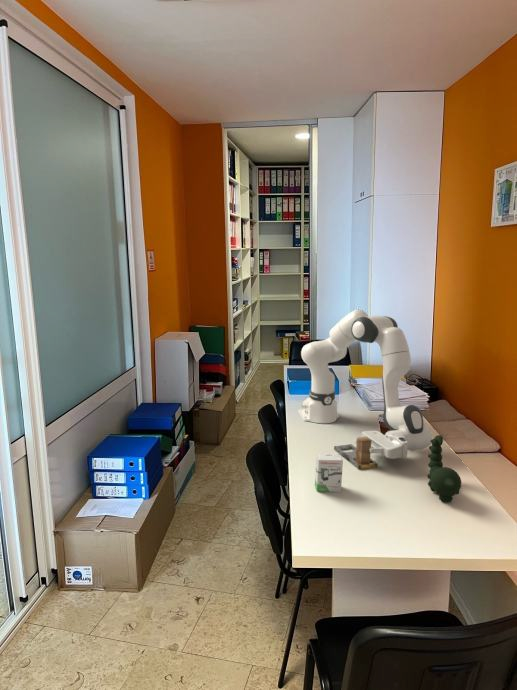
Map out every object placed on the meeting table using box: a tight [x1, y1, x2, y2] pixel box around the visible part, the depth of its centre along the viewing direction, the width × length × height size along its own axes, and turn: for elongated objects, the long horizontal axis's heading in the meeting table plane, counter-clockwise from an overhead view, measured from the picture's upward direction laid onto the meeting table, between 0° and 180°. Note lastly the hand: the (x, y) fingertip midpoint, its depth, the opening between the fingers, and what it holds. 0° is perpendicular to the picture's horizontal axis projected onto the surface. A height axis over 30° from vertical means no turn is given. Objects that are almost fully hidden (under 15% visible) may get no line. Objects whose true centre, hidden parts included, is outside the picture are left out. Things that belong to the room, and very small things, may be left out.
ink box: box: [314, 453, 344, 493], centre depth 172 cm, size 9×5×12 cm, turn 91°
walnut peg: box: [355, 436, 372, 465], centre depth 192 cm, size 4×4×10 cm
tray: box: [333, 443, 378, 470], centre depth 199 cm, size 20×8×2 cm, turn 19°
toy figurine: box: [426, 434, 462, 503], centre depth 170 cm, size 9×19×25 cm
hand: (363, 445), depth 192 cm, fingers open, 8 cm apart
